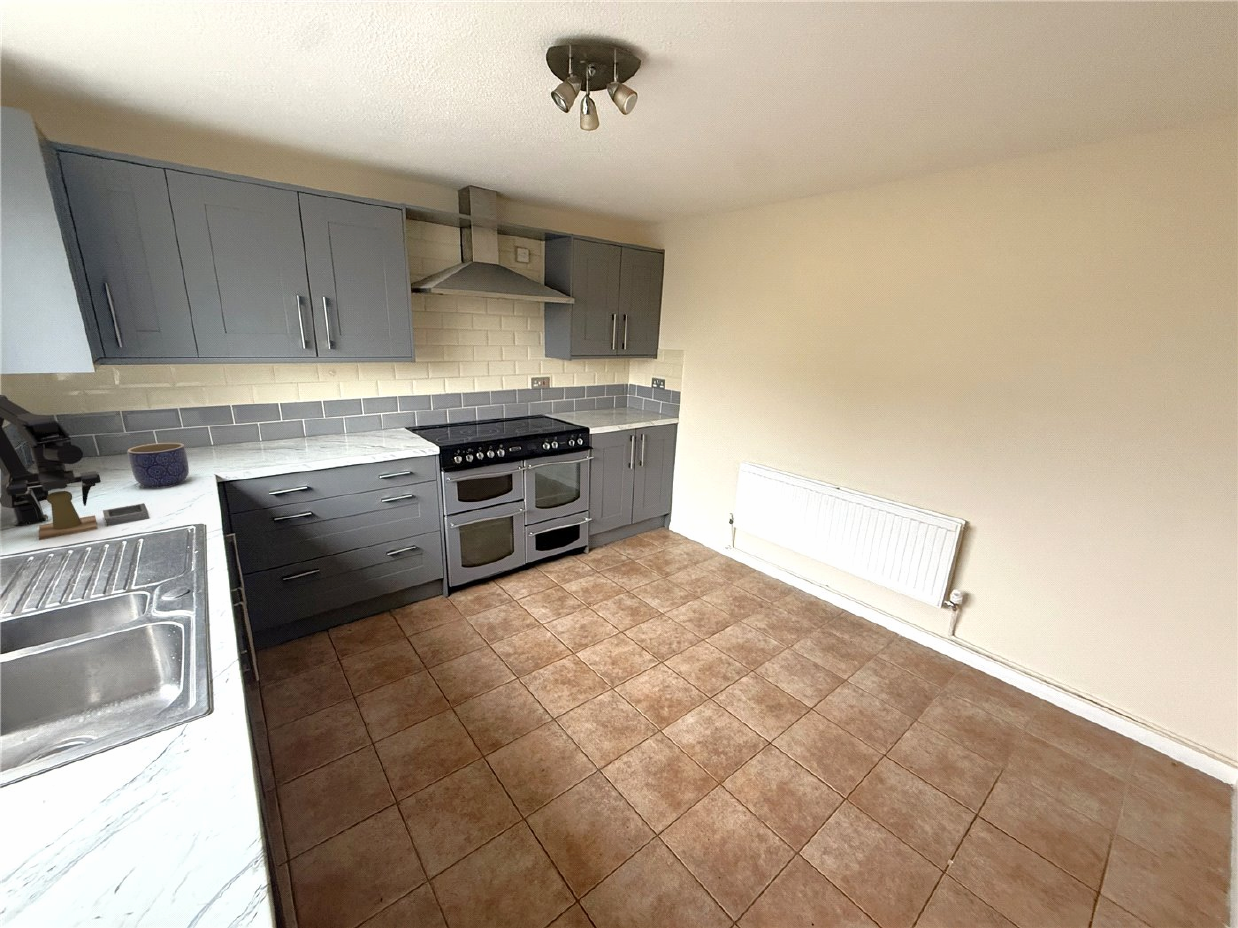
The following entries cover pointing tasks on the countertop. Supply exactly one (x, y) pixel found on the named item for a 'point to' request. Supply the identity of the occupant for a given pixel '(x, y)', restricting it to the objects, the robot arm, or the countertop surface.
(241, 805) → the countertop surface
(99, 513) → the countertop surface
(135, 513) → the steel collar
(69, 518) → the cork
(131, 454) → the planter
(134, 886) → the countertop surface
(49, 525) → the walnut board
